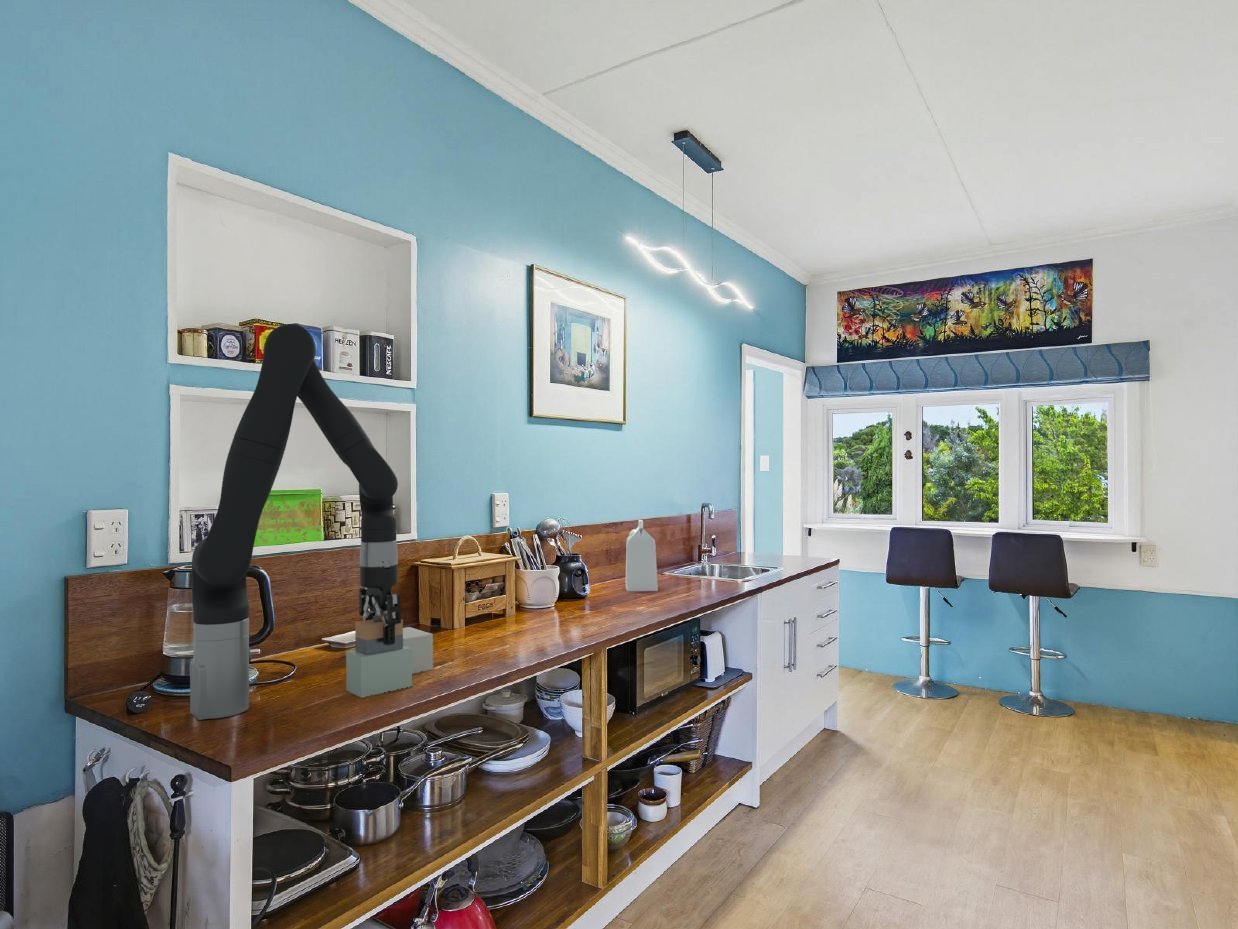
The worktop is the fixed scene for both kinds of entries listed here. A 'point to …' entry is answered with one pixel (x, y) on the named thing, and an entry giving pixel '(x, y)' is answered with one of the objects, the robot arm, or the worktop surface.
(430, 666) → the stand
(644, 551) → the milk
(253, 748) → the worktop surface
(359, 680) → the stand
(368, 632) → the top plate
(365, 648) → the bottom plate
